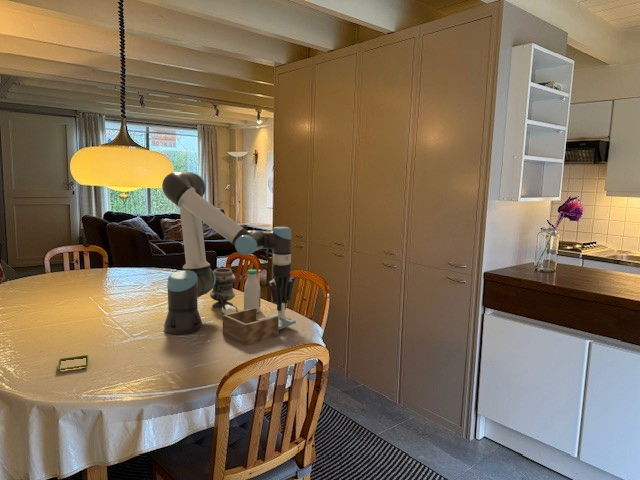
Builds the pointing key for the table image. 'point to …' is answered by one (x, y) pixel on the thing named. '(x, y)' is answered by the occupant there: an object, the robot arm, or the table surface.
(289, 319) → the panel
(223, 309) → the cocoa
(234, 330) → the crate
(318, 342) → the table surface
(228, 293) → the apothecary jar
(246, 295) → the milk bottle
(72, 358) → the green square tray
